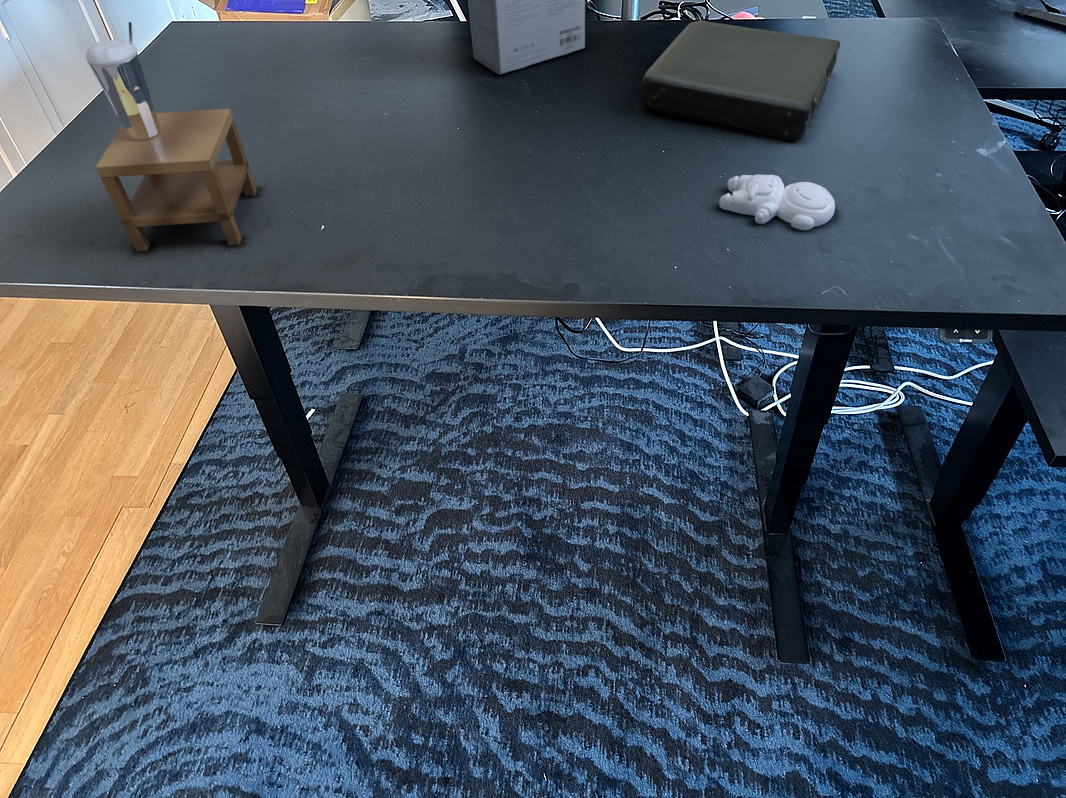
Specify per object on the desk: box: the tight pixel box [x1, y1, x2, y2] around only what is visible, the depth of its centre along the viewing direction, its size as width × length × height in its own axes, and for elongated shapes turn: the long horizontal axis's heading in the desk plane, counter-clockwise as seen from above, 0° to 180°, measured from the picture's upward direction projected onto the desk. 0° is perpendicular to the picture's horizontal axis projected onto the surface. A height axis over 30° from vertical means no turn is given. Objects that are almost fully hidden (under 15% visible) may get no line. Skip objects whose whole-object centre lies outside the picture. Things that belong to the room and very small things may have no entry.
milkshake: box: [85, 21, 161, 140], centre depth 76 cm, size 4×5×10 cm
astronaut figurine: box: [718, 173, 836, 231], centre depth 84 cm, size 9×12×3 cm
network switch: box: [640, 19, 841, 142], centre depth 102 cm, size 23×23×5 cm
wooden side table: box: [95, 108, 257, 253], centre depth 83 cm, size 11×11×10 cm
